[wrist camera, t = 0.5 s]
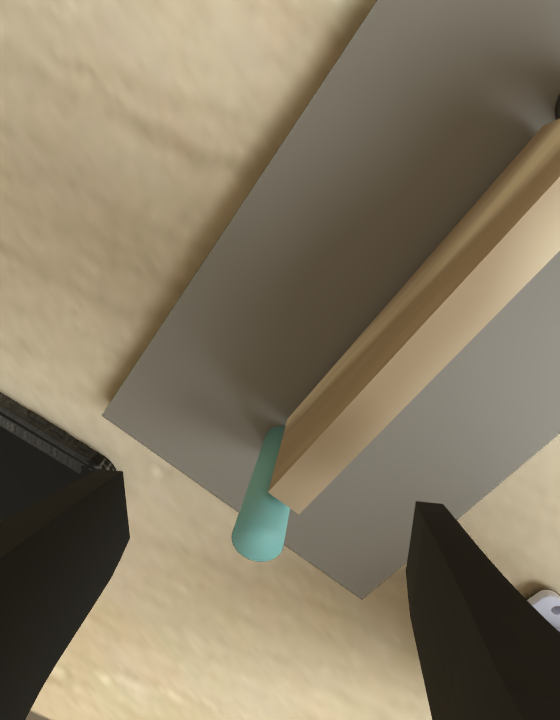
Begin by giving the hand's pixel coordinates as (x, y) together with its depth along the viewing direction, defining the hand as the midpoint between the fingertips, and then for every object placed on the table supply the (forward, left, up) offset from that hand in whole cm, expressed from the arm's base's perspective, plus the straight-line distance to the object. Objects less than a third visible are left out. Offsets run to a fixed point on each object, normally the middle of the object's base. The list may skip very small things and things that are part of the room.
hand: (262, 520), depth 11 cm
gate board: (-1, -6, -9) cm, 11 cm away
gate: (-1, -6, -8) cm, 9 cm away
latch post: (-1, +2, -9) cm, 9 cm away
